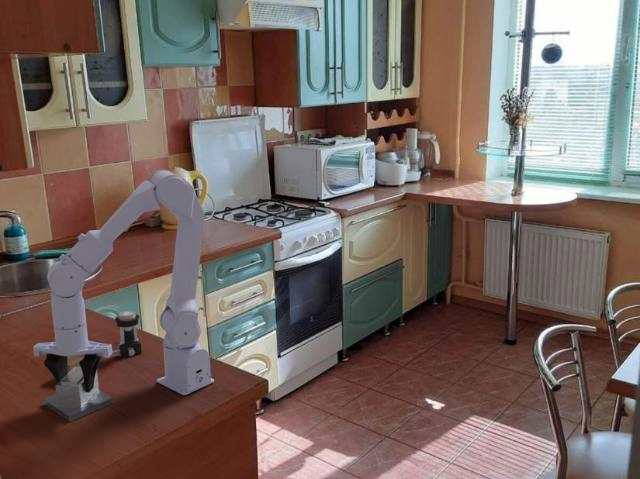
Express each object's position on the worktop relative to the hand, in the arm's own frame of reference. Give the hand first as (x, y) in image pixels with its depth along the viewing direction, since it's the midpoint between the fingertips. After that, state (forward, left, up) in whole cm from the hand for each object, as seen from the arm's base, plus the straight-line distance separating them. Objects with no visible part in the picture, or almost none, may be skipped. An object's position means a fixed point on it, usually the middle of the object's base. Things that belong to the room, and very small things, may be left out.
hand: (77, 389), depth 117 cm
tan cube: (+12, -5, -3) cm, 13 cm away
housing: (0, 0, -2) cm, 2 cm away
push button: (+13, -19, -3) cm, 23 cm away
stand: (0, 0, -3) cm, 3 cm away
